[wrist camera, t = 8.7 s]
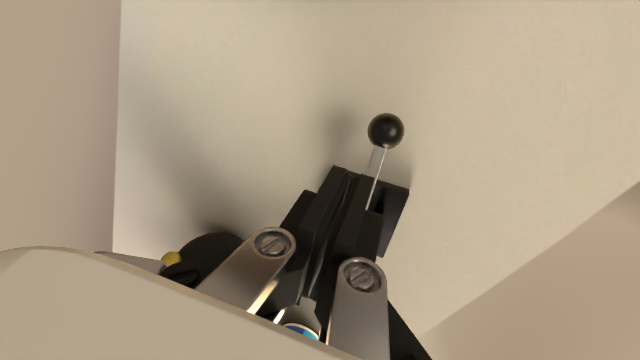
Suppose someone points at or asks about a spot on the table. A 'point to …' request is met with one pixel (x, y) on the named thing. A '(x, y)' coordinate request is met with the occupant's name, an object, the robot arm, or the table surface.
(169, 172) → the table surface
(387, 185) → the lever switch
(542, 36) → the table surface
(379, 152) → the ball knob lever
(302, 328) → the beverage bottle
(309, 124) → the table surface
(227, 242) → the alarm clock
